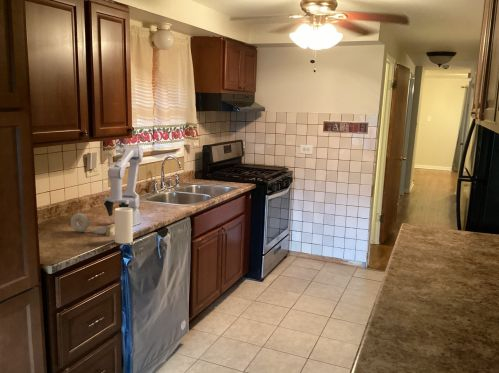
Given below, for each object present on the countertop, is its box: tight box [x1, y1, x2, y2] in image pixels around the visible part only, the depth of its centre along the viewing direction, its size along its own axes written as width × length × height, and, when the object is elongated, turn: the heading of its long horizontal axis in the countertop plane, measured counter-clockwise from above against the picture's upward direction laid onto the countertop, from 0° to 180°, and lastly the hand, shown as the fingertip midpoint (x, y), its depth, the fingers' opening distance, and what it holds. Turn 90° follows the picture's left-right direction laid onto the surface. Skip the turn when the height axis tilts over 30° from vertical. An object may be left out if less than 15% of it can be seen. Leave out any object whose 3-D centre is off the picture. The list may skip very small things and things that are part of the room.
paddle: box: [105, 223, 115, 237], centre depth 232 cm, size 14×2×5 cm, turn 158°
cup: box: [114, 207, 134, 244], centre depth 216 cm, size 8×8×16 cm
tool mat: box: [88, 226, 106, 236], centre depth 237 cm, size 18×9×1 cm, turn 158°
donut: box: [70, 212, 90, 233], centre depth 231 cm, size 10×3×10 cm, turn 76°
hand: (116, 216), depth 231 cm, fingers open, 7 cm apart
